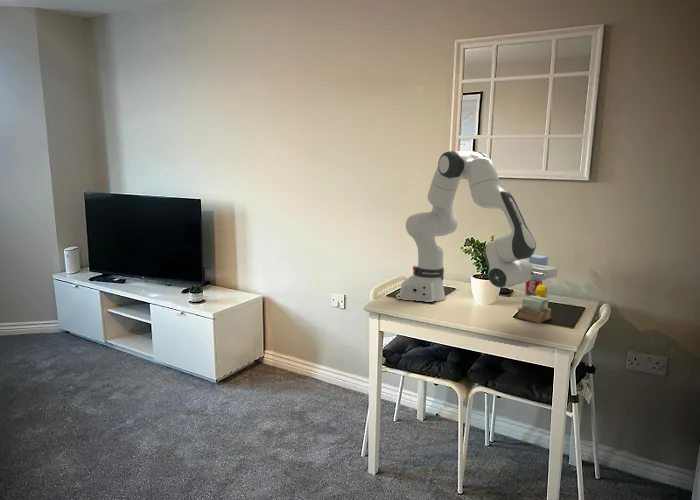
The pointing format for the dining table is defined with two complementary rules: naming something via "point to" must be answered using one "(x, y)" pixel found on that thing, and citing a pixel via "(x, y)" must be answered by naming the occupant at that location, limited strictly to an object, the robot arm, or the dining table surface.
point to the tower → (534, 309)
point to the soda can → (532, 286)
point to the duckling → (541, 291)
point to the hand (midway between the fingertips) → (539, 266)
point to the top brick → (538, 260)
